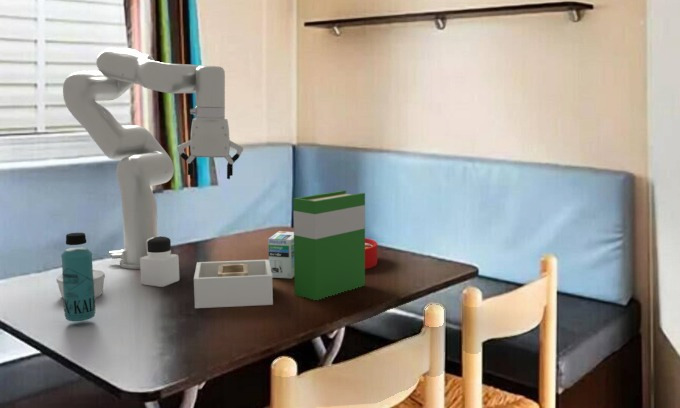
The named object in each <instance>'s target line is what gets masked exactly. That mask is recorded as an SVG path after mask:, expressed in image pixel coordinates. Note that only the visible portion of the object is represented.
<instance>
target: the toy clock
mask: <svg viewBox="0 0 680 408" xmlns="http://www.w3.org/2000/svg"><path fill="white" fill-rule="evenodd" d="M376 265H378V242H377V241H375V240H374V239H370V238H367V237H365V270H367V269H370V268H374V267H375V266H376Z"/></svg>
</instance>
